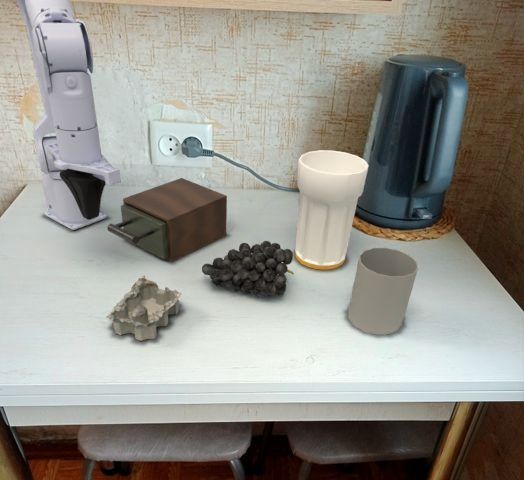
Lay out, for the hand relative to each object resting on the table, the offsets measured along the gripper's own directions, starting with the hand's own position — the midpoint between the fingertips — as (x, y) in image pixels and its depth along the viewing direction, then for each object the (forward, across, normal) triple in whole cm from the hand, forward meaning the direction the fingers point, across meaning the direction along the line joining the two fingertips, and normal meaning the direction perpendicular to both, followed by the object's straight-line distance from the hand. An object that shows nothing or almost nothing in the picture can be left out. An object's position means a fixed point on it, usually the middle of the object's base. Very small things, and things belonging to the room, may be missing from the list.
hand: (91, 216), depth 79 cm
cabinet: (+10, +1, +17) cm, 20 cm away
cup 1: (+10, +24, +30) cm, 40 cm away
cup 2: (+10, +41, +20) cm, 47 cm away
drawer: (+9, +1, +13) cm, 16 cm away
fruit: (+10, +21, +13) cm, 27 cm away
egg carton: (+10, +16, -4) cm, 19 cm away
